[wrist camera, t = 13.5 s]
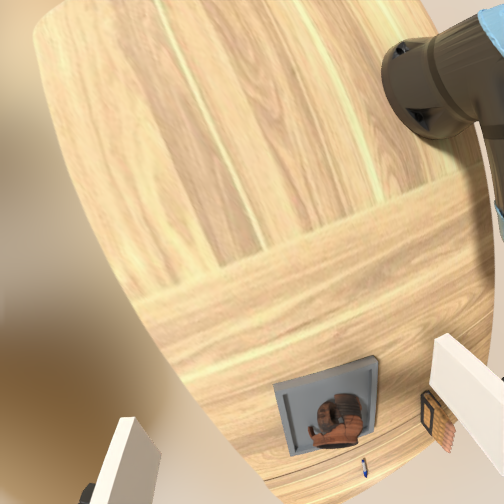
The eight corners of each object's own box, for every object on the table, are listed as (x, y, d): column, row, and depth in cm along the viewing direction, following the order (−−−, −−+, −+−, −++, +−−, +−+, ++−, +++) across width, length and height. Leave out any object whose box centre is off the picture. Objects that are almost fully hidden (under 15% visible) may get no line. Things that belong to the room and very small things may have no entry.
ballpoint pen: (367, 474, 52) (368, 477, 51) (364, 476, 52) (365, 479, 51) (363, 458, 49) (364, 461, 48) (359, 459, 49) (361, 463, 48)
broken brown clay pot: (369, 400, 43) (371, 444, 37) (322, 411, 48) (320, 451, 42) (343, 382, 37) (345, 436, 31) (287, 394, 42) (284, 443, 36)
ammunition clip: (427, 417, 48) (453, 452, 36) (420, 422, 48) (445, 457, 36) (428, 389, 45) (460, 426, 33) (420, 394, 45) (451, 432, 33)
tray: (372, 354, 41) (378, 361, 39) (369, 425, 45) (373, 431, 44) (272, 383, 41) (274, 391, 39) (288, 448, 45) (290, 456, 43)
